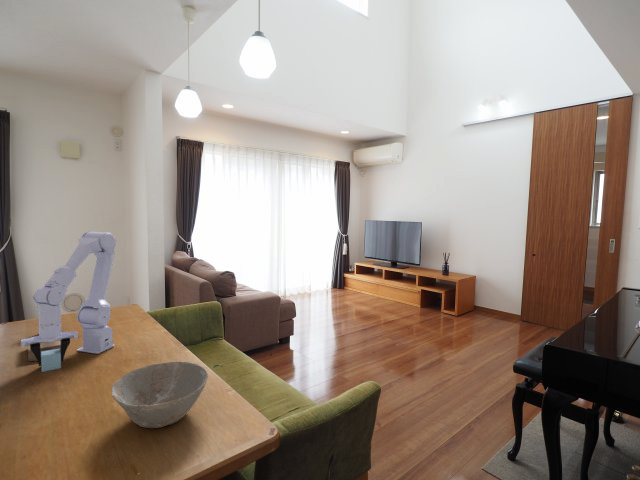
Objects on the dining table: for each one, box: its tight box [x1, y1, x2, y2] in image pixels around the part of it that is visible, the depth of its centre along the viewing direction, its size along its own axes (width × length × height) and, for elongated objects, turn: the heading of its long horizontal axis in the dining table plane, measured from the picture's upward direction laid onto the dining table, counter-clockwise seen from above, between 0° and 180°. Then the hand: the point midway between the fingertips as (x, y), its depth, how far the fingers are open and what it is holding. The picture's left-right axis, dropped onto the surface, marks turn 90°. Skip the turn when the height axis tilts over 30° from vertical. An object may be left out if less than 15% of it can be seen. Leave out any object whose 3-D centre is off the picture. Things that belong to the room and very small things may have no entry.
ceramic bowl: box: [111, 361, 209, 429], centre depth 88 cm, size 22×23×10 cm
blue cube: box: [40, 348, 62, 373], centre depth 113 cm, size 5×5×5 cm
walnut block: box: [27, 340, 61, 362], centre depth 125 cm, size 10×14×4 cm
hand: (51, 363), depth 113 cm, fingers closed on blue cube, 5 cm apart
